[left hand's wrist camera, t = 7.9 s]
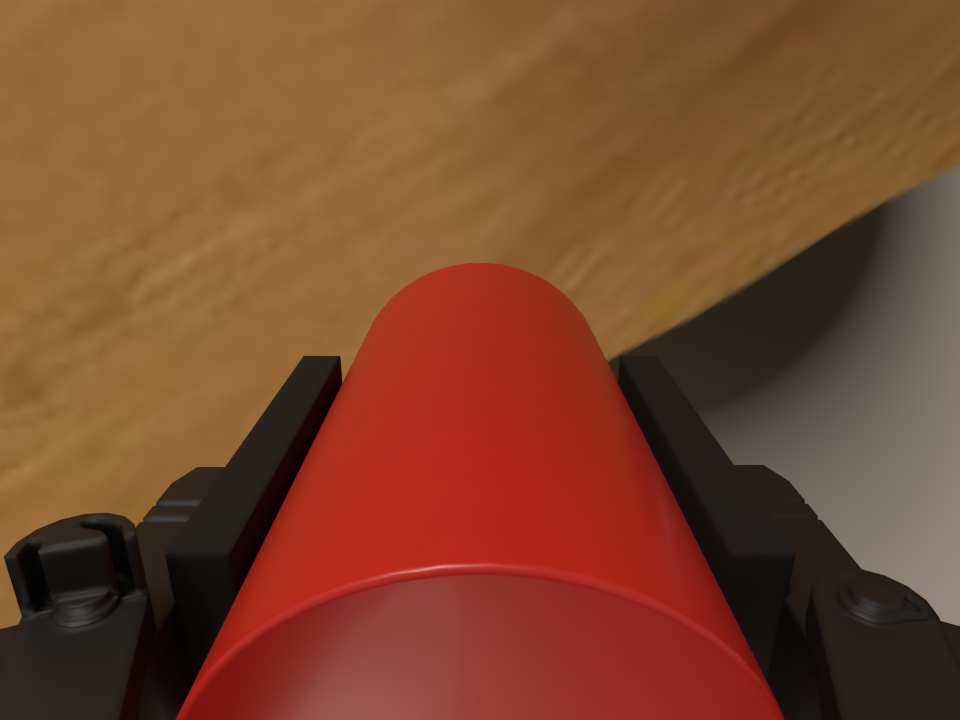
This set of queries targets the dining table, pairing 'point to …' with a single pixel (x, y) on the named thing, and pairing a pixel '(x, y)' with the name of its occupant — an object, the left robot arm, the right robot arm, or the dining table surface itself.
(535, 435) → the canister
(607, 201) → the dining table surface
